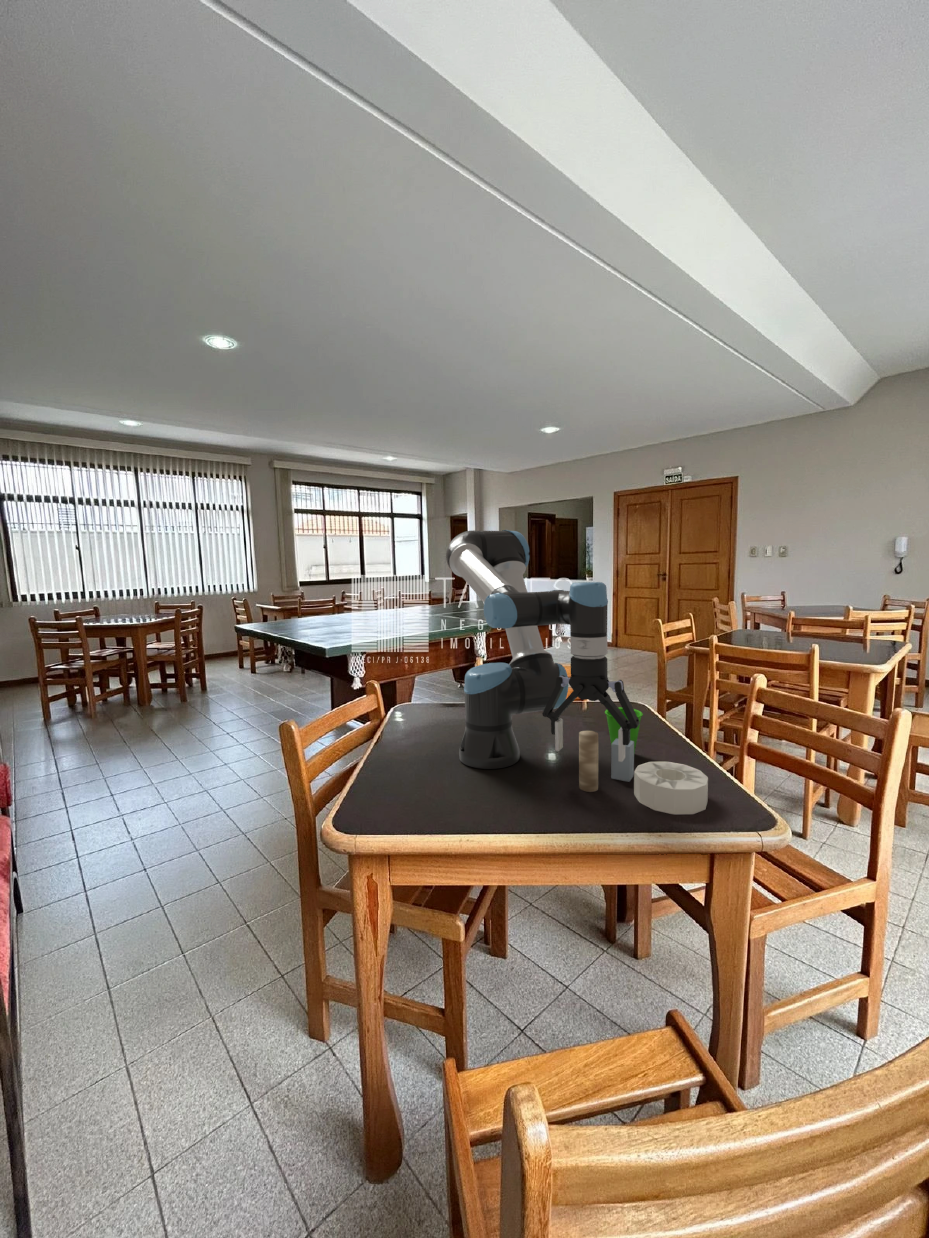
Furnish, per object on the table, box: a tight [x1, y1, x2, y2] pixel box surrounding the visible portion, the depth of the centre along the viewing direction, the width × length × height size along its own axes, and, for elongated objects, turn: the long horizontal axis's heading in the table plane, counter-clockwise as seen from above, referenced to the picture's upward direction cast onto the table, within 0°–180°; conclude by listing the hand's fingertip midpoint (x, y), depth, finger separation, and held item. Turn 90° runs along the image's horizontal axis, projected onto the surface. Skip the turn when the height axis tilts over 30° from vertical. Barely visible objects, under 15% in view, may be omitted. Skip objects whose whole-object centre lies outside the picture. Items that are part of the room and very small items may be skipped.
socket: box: [633, 761, 709, 815], centre depth 102 cm, size 14×14×5 cm
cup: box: [604, 706, 644, 755], centre depth 125 cm, size 9×9×11 cm
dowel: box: [578, 730, 599, 793], centre depth 108 cm, size 4×4×12 cm
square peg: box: [610, 738, 635, 783], centre depth 113 cm, size 4×4×8 cm
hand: (589, 754), depth 107 cm, fingers open, 13 cm apart
